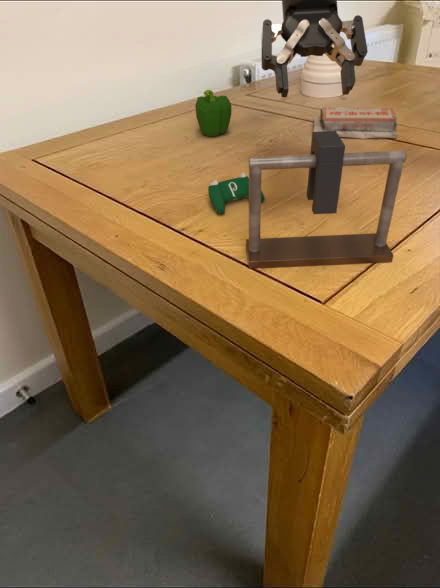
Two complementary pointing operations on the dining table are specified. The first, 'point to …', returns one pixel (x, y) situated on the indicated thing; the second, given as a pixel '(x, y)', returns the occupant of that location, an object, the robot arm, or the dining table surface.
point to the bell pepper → (213, 113)
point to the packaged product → (357, 122)
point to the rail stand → (321, 247)
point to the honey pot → (321, 77)
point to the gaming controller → (229, 191)
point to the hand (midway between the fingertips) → (316, 93)
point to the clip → (325, 172)
